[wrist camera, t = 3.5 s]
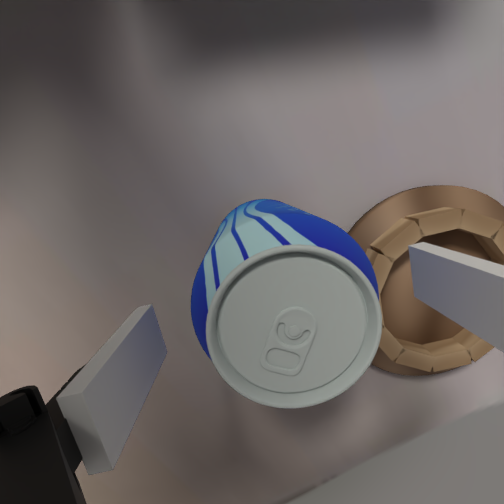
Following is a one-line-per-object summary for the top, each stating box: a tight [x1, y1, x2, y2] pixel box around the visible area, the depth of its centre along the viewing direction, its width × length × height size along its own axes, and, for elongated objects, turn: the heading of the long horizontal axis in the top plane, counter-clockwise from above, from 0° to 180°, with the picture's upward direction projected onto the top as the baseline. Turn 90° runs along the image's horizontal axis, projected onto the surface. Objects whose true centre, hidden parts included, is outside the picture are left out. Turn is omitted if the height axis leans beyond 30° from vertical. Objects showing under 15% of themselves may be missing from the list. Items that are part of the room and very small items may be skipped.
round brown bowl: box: [347, 185, 504, 376], centre depth 26 cm, size 18×18×3 cm
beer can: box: [191, 199, 382, 409], centre depth 19 cm, size 8×8×16 cm
